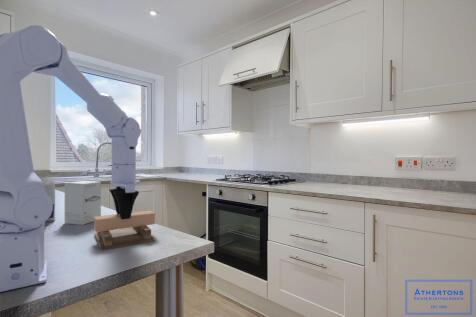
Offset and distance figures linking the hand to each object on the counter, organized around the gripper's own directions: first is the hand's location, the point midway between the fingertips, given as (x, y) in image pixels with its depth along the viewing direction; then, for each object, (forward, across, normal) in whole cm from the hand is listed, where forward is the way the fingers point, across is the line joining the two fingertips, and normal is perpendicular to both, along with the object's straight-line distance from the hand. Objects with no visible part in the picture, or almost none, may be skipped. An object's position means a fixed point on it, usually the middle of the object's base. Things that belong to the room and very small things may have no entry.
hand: (123, 216), depth 69 cm
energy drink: (+6, +30, +17) cm, 35 cm away
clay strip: (+2, 0, 0) cm, 3 cm away
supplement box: (+6, +24, +7) cm, 26 cm away
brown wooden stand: (+6, 0, 0) cm, 6 cm away
